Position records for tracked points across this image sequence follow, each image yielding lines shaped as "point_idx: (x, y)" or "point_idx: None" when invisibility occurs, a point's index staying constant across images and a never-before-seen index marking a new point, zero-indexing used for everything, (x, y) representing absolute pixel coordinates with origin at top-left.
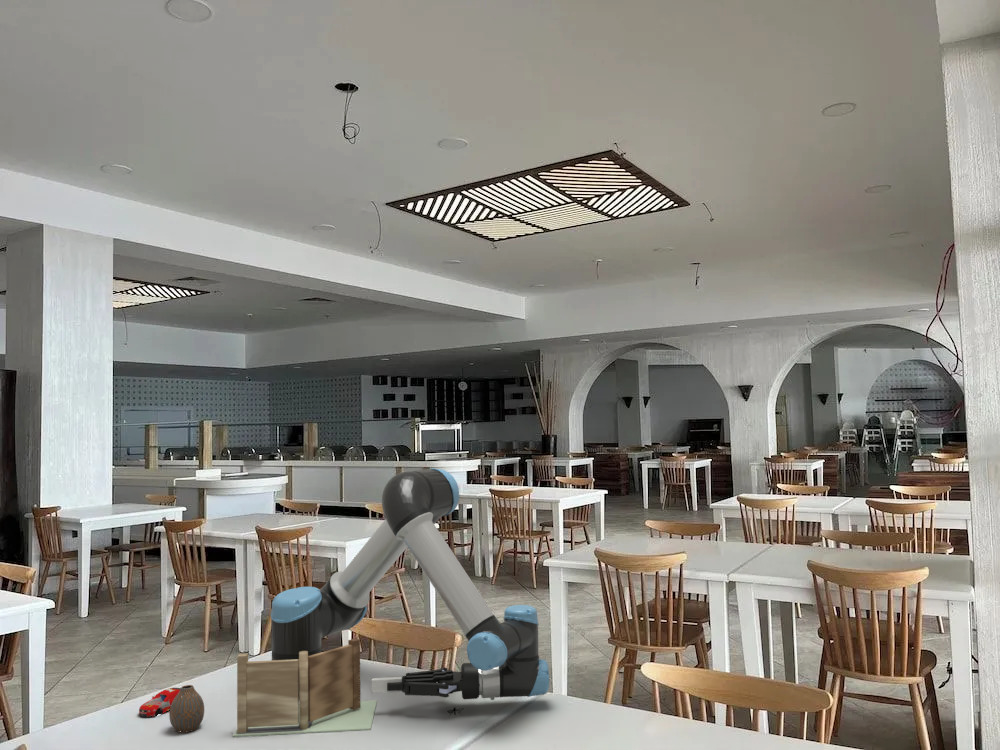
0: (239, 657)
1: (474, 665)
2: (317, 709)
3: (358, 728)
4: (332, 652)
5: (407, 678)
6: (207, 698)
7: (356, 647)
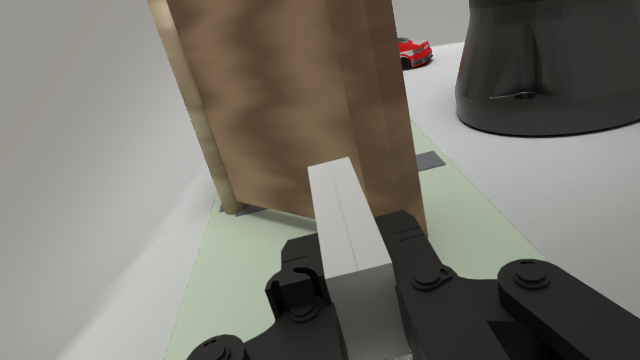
0: None
1: None
2: (244, 177)
3: (178, 329)
4: None
5: (408, 315)
6: (439, 68)
7: None
